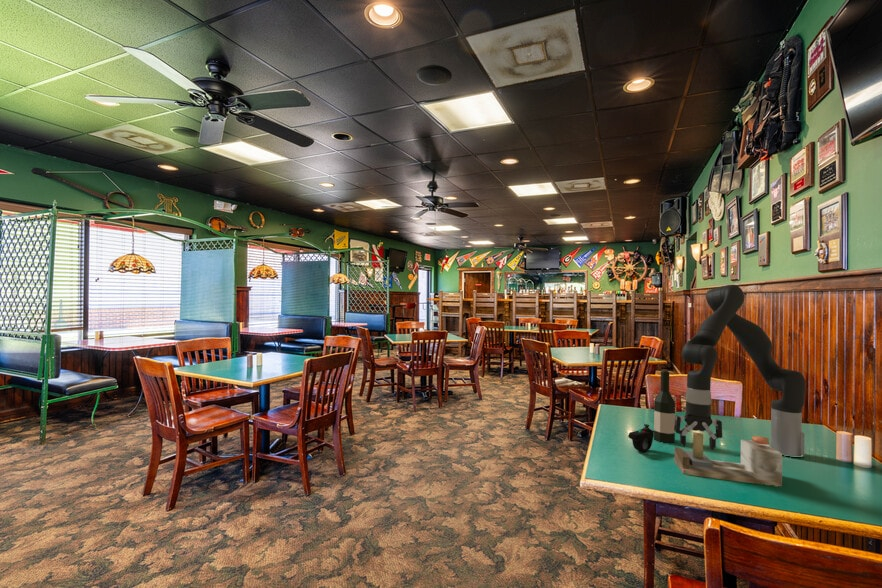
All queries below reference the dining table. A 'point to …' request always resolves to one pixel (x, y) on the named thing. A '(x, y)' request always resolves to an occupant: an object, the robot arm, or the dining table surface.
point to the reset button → (760, 440)
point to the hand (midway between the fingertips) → (697, 447)
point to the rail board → (740, 465)
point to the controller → (642, 438)
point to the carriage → (698, 453)
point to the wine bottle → (664, 412)
